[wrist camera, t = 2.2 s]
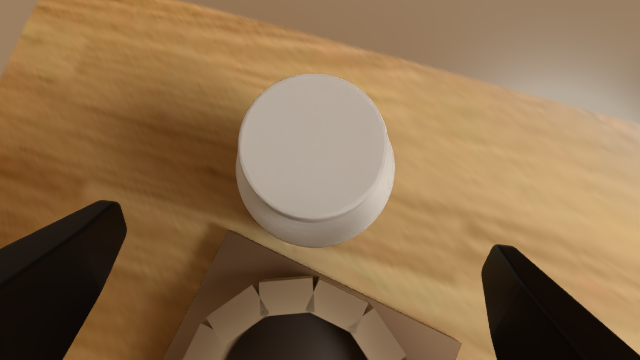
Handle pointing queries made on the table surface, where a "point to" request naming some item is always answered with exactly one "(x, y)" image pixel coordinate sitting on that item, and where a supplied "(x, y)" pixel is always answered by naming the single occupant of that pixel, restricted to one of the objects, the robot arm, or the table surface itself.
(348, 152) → the supplement bottle
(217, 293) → the board
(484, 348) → the table surface
